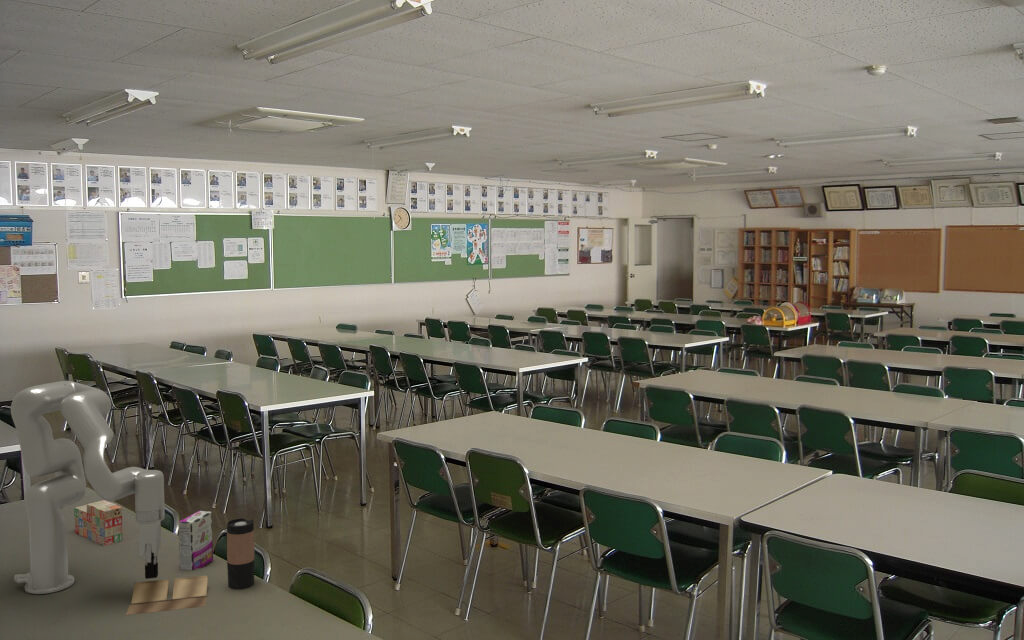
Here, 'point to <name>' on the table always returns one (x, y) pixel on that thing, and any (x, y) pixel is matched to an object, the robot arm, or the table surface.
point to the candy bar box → (195, 540)
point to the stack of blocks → (99, 522)
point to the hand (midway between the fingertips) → (151, 577)
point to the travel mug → (240, 553)
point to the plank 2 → (190, 587)
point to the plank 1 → (150, 591)
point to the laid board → (166, 605)
